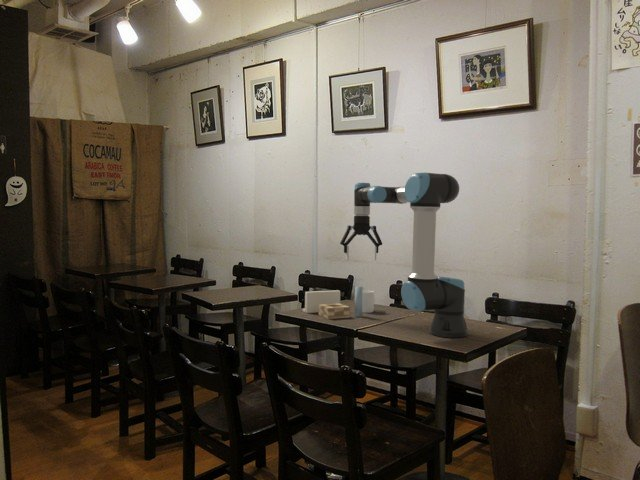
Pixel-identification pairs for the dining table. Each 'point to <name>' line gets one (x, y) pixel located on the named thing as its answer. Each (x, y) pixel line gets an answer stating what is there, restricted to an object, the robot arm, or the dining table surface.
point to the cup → (367, 301)
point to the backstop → (320, 299)
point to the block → (334, 311)
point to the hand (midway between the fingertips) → (360, 260)
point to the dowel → (358, 301)
